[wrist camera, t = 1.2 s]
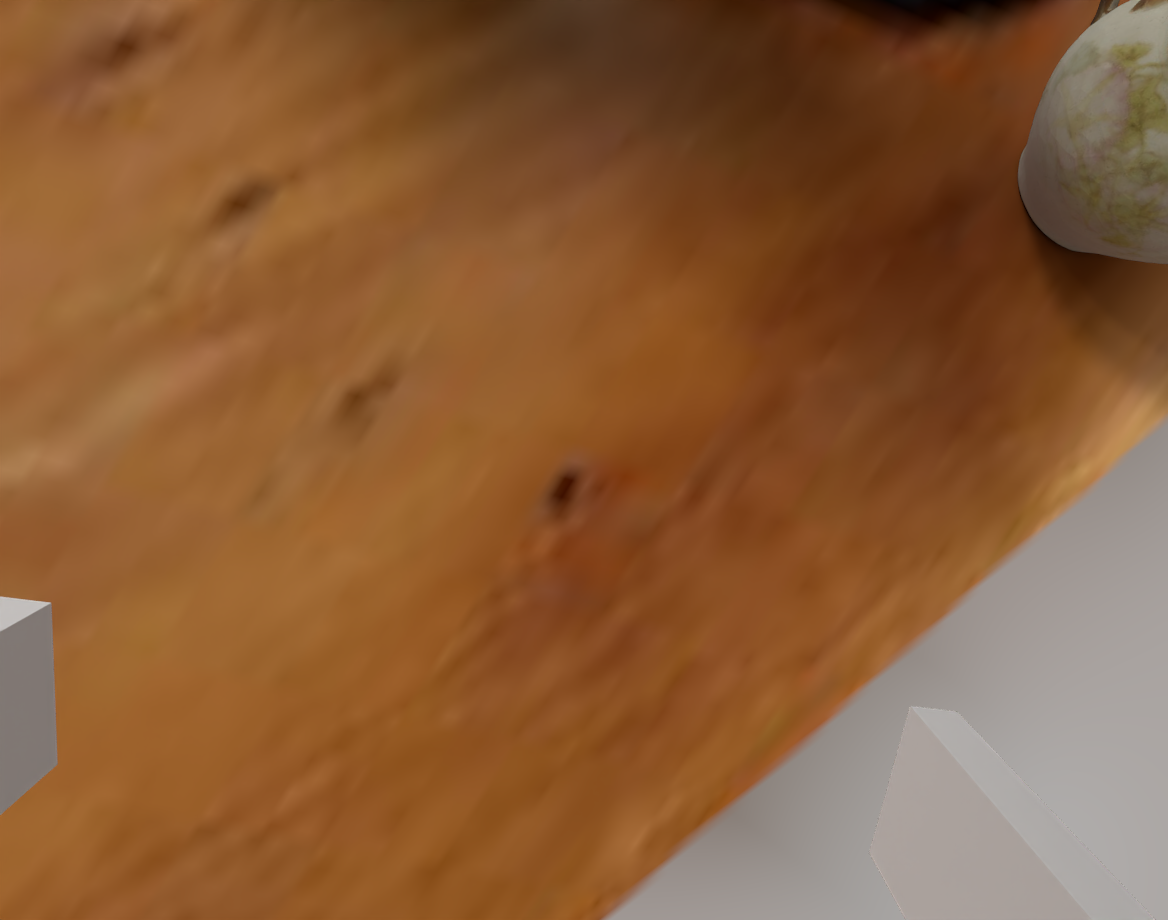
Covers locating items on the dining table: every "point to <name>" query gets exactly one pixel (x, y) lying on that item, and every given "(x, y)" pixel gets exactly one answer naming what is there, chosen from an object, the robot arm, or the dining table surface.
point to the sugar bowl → (1105, 138)
